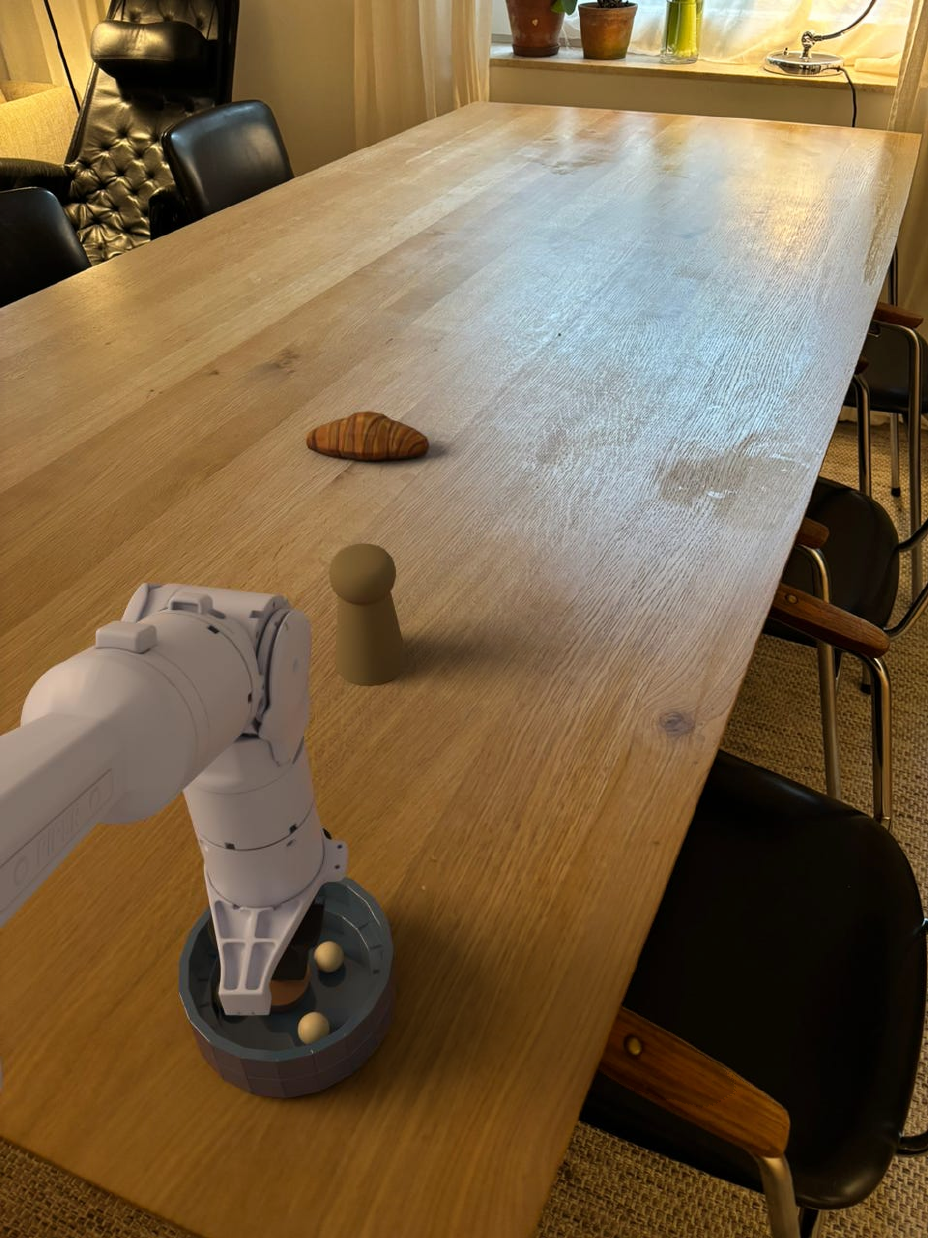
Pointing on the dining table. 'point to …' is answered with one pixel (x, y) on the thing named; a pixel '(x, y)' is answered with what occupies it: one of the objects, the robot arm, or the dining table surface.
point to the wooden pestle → (288, 993)
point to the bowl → (270, 1044)
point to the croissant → (367, 438)
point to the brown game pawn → (366, 616)
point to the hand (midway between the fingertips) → (289, 955)
